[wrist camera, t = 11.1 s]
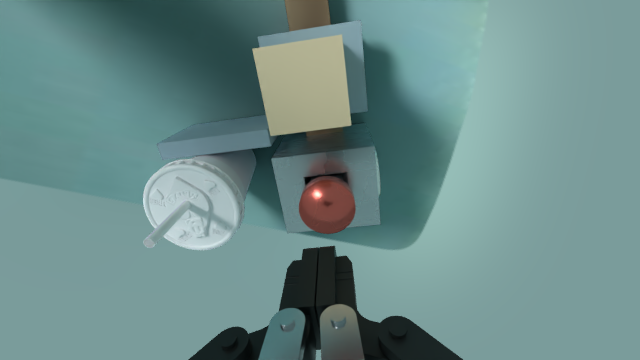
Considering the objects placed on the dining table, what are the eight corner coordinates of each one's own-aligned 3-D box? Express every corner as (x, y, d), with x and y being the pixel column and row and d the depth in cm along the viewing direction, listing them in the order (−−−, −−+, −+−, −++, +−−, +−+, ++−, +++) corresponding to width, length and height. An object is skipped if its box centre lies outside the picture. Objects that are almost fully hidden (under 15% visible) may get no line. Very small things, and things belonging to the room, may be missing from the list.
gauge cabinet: (297, 192, 29) (287, 233, 23) (286, 132, 27) (271, 158, 20) (373, 184, 28) (384, 224, 22) (368, 122, 26) (379, 145, 20)
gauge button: (311, 189, 27) (303, 236, 20) (305, 151, 25) (294, 186, 19) (352, 185, 26) (358, 231, 20) (348, 145, 25) (352, 180, 18)
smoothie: (259, 120, 27) (187, 185, 14) (278, 185, 29) (232, 292, 16) (192, 134, 27) (65, 208, 15) (216, 196, 30) (125, 306, 17)
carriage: (197, 137, 27) (110, 192, 17) (171, 54, 24) (48, 56, 14) (364, 115, 26) (385, 160, 15) (357, 24, 23) (375, 2, 12)
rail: (297, 131, 27) (294, 138, 25) (257, -96, 21) (248, -114, 18) (353, 124, 26) (355, 131, 24) (330, -111, 20) (329, -131, 18)
